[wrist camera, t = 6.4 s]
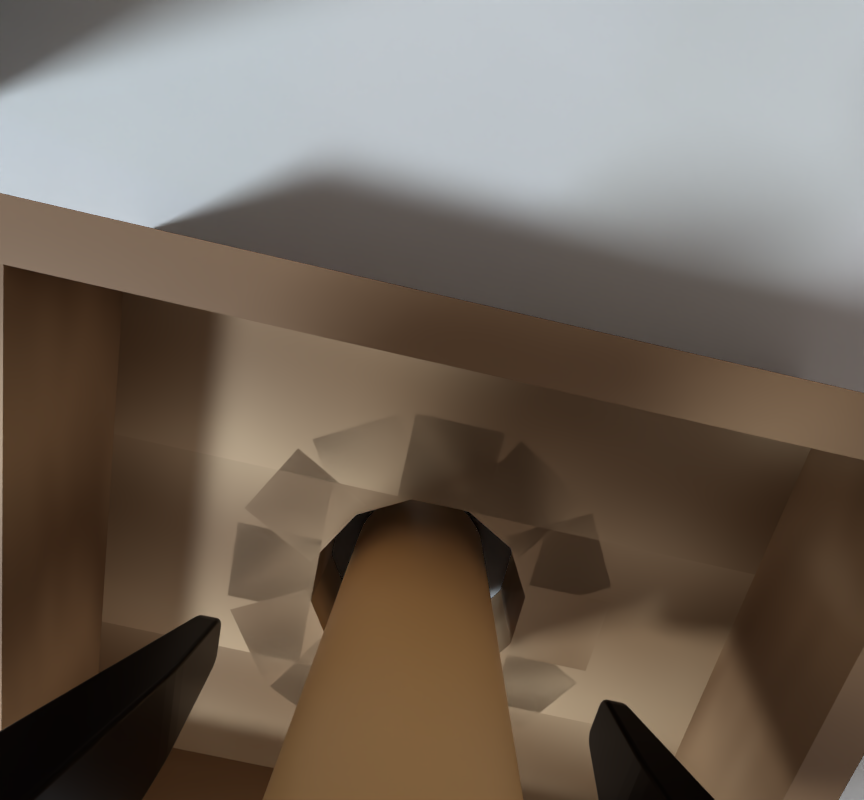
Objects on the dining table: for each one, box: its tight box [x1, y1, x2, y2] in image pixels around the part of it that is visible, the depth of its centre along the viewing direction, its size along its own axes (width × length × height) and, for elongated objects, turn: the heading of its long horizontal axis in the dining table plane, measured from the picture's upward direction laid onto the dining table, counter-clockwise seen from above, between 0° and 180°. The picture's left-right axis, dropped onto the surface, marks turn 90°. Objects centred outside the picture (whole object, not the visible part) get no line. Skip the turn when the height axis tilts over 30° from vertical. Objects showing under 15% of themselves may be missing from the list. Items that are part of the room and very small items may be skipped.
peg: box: [263, 499, 523, 800], centre depth 8 cm, size 4×4×9 cm
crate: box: [0, 193, 864, 800], centre depth 10 cm, size 14×17×4 cm
